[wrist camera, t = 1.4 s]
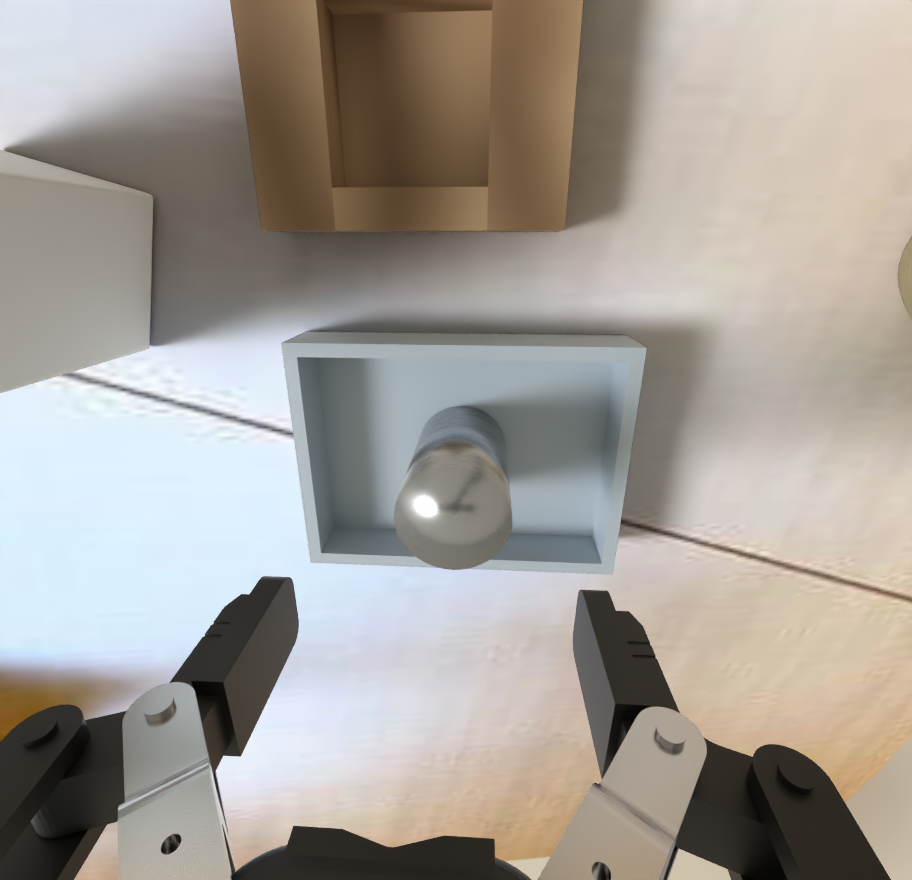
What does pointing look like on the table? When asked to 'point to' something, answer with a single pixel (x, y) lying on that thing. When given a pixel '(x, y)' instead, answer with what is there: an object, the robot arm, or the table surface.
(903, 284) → the flower pot
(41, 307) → the milk carton
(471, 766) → the table surface
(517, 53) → the wooden shaker holder
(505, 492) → the cylinder
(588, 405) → the tote
